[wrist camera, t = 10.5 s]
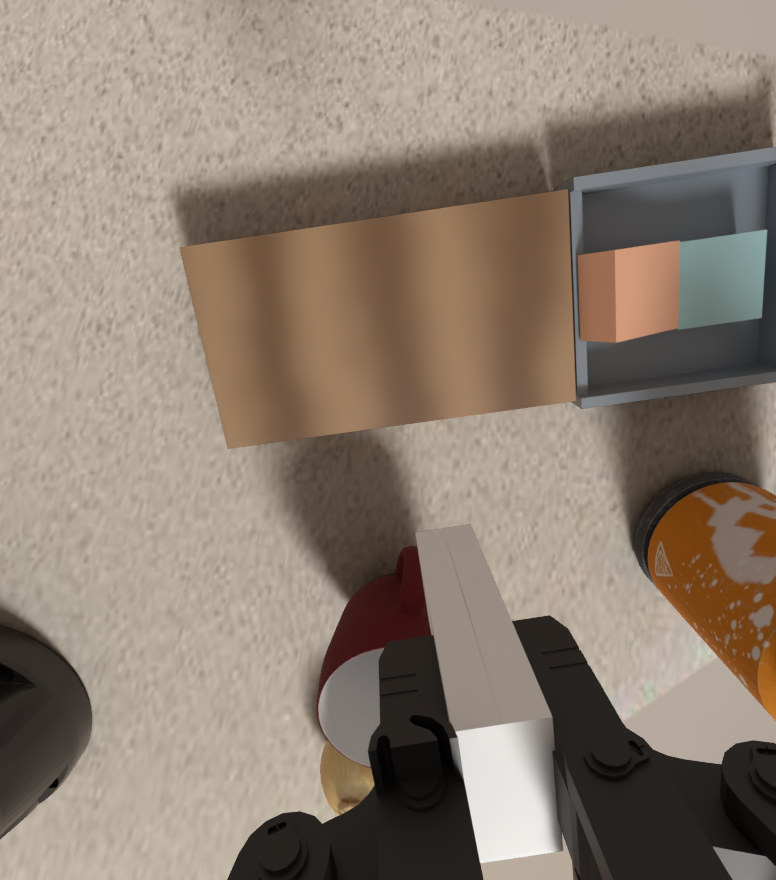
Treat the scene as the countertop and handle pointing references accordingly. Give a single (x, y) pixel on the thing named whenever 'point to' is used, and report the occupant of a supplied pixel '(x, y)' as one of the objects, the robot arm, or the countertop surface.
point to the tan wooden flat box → (388, 319)
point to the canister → (719, 570)
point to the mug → (368, 654)
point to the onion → (343, 780)
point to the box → (680, 218)
